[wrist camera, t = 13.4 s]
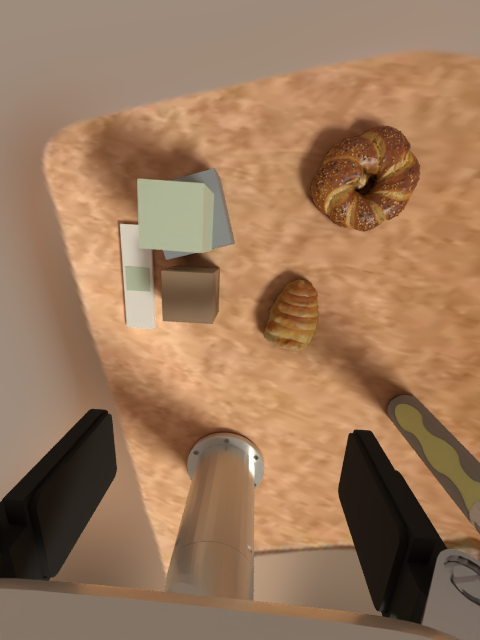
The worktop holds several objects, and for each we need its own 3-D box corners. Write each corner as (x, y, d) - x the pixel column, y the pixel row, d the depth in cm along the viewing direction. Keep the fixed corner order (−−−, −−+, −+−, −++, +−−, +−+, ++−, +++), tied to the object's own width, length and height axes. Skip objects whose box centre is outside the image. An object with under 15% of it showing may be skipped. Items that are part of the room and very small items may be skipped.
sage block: (211, 250, 32) (201, 253, 26) (160, 246, 32) (139, 248, 26) (214, 194, 30) (204, 183, 24) (159, 190, 30) (137, 178, 24)
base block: (235, 243, 36) (232, 244, 31) (177, 257, 37) (165, 260, 32) (220, 178, 34) (214, 168, 29) (159, 194, 35) (144, 187, 30)
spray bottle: (426, 406, 41) (576, 553, 22) (400, 427, 42) (521, 583, 23) (403, 386, 40) (538, 521, 21) (378, 408, 41) (483, 553, 22)
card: (155, 327, 40) (154, 329, 39) (128, 325, 40) (126, 327, 39) (152, 225, 36) (150, 225, 35) (121, 224, 36) (119, 223, 35)
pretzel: (311, 237, 35) (317, 237, 32) (306, 141, 32) (312, 129, 29) (408, 225, 34) (425, 224, 31) (413, 125, 31) (433, 111, 28)
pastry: (278, 273, 37) (280, 277, 33) (327, 284, 37) (335, 289, 33) (261, 337, 40) (262, 347, 36) (307, 347, 40) (312, 358, 36)
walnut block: (218, 311, 39) (212, 323, 33) (176, 308, 39) (162, 320, 33) (219, 268, 37) (213, 273, 31) (175, 265, 37) (161, 270, 32)
